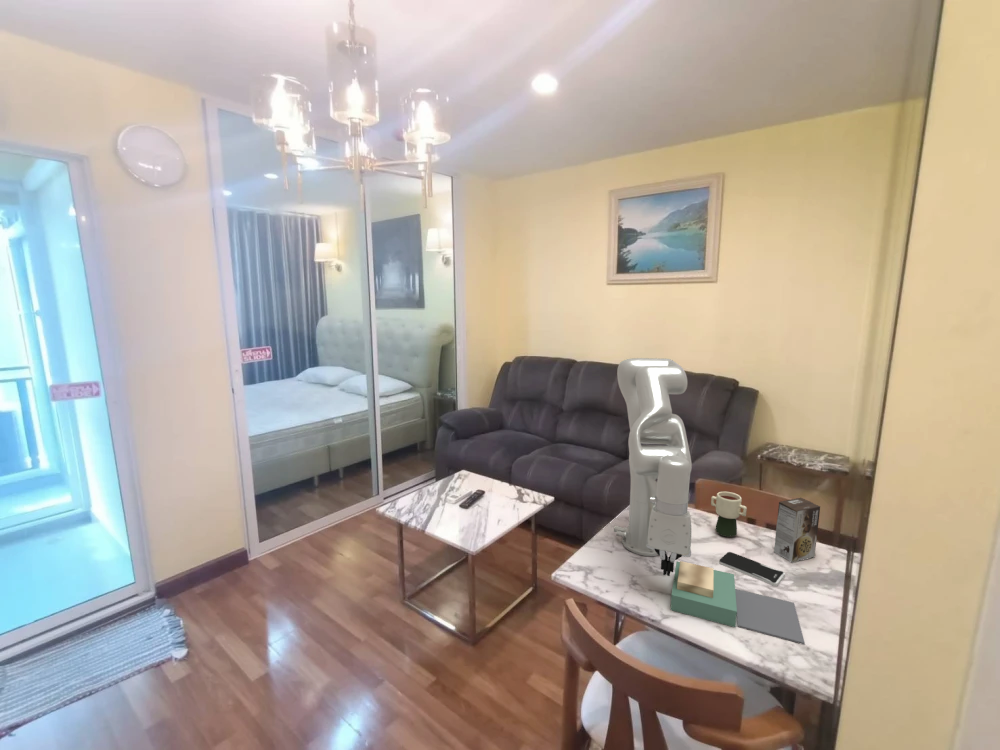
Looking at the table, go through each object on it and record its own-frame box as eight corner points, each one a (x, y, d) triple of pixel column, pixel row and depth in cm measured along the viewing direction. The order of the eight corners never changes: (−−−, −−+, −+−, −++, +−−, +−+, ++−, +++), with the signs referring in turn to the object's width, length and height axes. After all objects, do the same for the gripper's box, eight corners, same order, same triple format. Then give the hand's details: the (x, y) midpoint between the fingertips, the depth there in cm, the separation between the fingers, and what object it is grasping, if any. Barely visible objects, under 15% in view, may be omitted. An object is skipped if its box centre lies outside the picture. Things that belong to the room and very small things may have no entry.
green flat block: (670, 609, 111) (671, 594, 110) (675, 574, 125) (676, 561, 124) (735, 627, 105) (736, 611, 104) (732, 588, 119) (734, 574, 119)
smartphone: (728, 551, 136) (786, 572, 125) (728, 555, 136) (785, 577, 125) (718, 560, 131) (776, 584, 120) (717, 565, 131) (776, 588, 120)
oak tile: (676, 589, 112) (677, 581, 112) (679, 567, 121) (680, 560, 121) (712, 597, 109) (713, 590, 109) (712, 575, 118) (713, 568, 118)
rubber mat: (737, 626, 105) (737, 625, 105) (735, 590, 118) (735, 588, 118) (804, 644, 100) (804, 642, 100) (793, 604, 113) (794, 602, 113)
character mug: (748, 536, 146) (752, 498, 144) (738, 544, 141) (742, 504, 139) (713, 524, 154) (716, 487, 152) (703, 531, 149) (707, 493, 147)
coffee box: (795, 546, 140) (801, 496, 137) (815, 557, 134) (821, 506, 131) (772, 551, 137) (778, 500, 134) (792, 563, 131) (798, 510, 128)
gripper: (638, 505, 115) (634, 573, 117) (703, 517, 108) (697, 588, 111) (643, 494, 121) (639, 558, 124) (704, 505, 115) (699, 572, 118)
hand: (666, 572), depth 118 cm, fingers closed
